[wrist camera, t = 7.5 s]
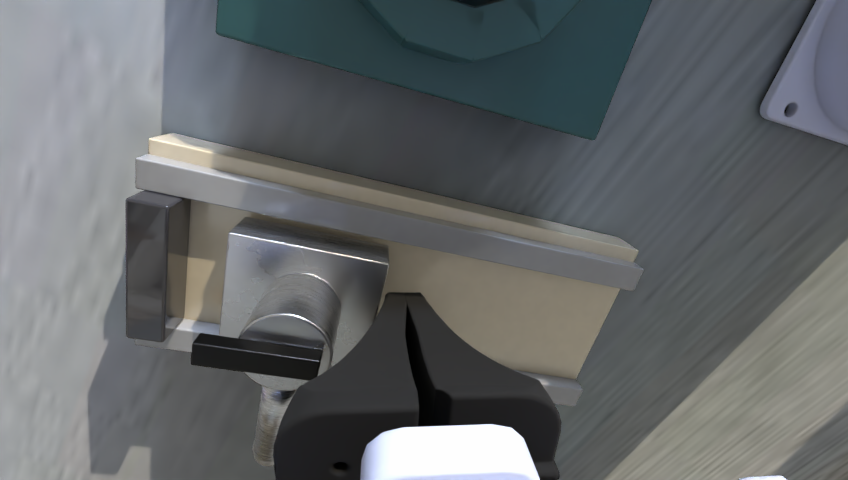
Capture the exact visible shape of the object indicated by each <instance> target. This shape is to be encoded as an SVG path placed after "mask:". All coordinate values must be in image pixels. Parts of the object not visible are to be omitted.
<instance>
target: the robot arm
mask: <svg viewBox="0 0 848 480" xmlns="http://www.w3.org/2000/svg"><path fill="white" fill-rule="evenodd" d="M787 105H788V108H787V111H786V112H785V114H784V111H785V108H786V107H787ZM760 114H761V116H762V117H763V118H764V119H767V120H770V121H773V122H776V123H779V124H782V125H785V126H788V127H792V128H795V129H798V130H801V131H804V132H807V133H810V134H813V135H816V136H819V137H823V138H826V139H829V140H832V141H835V142H838V143H841V144H844V145H847V146H848V0H816V2H815V4H814V6H813V8H812V9H811V11H810V13H809V15H808V17H807V19H806V21H805V23H804V24H803V26H802V28H801V30H800V32H799V34H798V36H797V38H796V39H795V41H794V43H793V45H792V47H791V49H790V51H789V52H788V54H787V56H786V58H785V60H784V62H783V64H782V66H781V67H780V69H779V71H778V73H777V75H776V77H775V79H774V81H773V82H772V84H771V86H770V88H769V90H768V92H767V94H766V96H765V97H764V99H763V101H762V103H761V106H760ZM560 432H561V419H560V415H559V412H558V410H557V408H556V407H555V405H554V403H553V401H552V399H551V397H550V396H549V394H548V393H547V391H546V390H545V388H544V387H543V385H542V384H541V382H540V381H539V380H537V379H535V378H532V377H529V376H527V375H524V374H521V373H519V372H516V371H514V370H512V369H510V368H508V367H505V366H503V365H501V364H499V363H497V362H496V361H494V360H492V359H490V358H489V357H487V356H485V355H484V354H482V353H481V352H479V351H477V350H476V349H475V348H473V347H472V346H470V345H469V344H468V343H466V342H465V341H464V340H463V339H461V338H460V337H459V336H458V335H457V334H456V333H454V332H453V331H452V330H451V329H450V328H449V327H448V326H447V324H446V323H445V322H444V321H443V320H442V319H441V318H440V317H439V316H438V314H437V313H436V312H435V311H434V309H433V308H432V307H431V306H430V304H429V303H428V302H427V300H426V299H425V297H424V296H423V295H422V294H421V293H420V292H388V293H387V294H386V295H385V299H384V302H383V305H382V307H381V309H380V311H379V313H378V315H377V317H376V318H375V320H374V322H373V323H372V325H371V326H370V328H369V329H368V331H367V332H366V334H365V335H364V336H363V337H362V339H361V340H360V341H359V342H358V343H357V344H356V346H355V347H354V348H353V349H352V350H351V351H350V352H349V353H348V354H347V355H346V356H345V357H344V358H343V359H341V360H340V361H339V362H338V363H337V364H335V365H334V366H333V367H331V368H330V369H328V370H327V371H326V372H324V373H322V374H321V375H319V376H317V377H316V378H314V379H312V380H310V381H308V382H307V383H305V384H303V385H301V386H299V387H298V389H297V390H296V392H295V394H294V396H293V397H292V399H291V401H290V403H289V405H288V407H287V409H286V411H285V413H284V415H283V418H282V420H281V423H280V426H279V429H278V432H277V436H276V439H275V442H274V450H273V459H274V468H275V476H276V480H557V479H559V471H558V468H557V466H556V464H555V462H554V457H555V452H556V448H557V444H558V440H559V436H560ZM739 480H786V479H785V478H784V477H783V476H779V475H775V476H757V477H745V478H740V479H739Z"/></svg>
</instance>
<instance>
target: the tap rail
mask: <svg viewBox="0 0 848 480" xmlns="http://www.w3.org/2000/svg"><path fill="white" fill-rule="evenodd" d="M136 188H137V189H142V190H144V191H142V192H140V193H137V194H135V195H133V196H131V197H129V198H127V199H126V336H127V337H128V338H133V339H135V345H140V346H148V347H155V348H162V349H169V350H176V351H183V352H190V353H192V343H193V342H194V340H195V339H196V338H197V336H198V335H199V334H200V333H206V334H212V335H219V327H220V316H221V305H222V295H223V284H224V273H225V263H226V252H227V241H228V233H229V232H230V231H231V230H232V229H233V228H234V227H235V226H236V225H237V224H238V223H239V222H240V221H241V220H242V219H243V218H244V217H251V218H255V219H260V220H265V221H270V222H275V223H280V224H285V225H290V226H294V227H299V228H304V229H309V230H314V231H319V232H324V233H329V234H334V235H338V236H343V237H348V238H353V239H358V240H363V241H368V242H373V243H378V244H382V245H387V246H389V269H388V273H387V277H386V281H385V285H384V289H383V293H382V296H381V300H380V304H379V308H378V312H377V315H378V313H379V311H380V309H381V307H382V305H383V302H384V299H385V295H386V294H387V293H388V292H420V293H421V294H422V295H423V296H424V297H425V299H426V300H427V302H428V303H429V304H430V306H431V307H432V308H433V309H434V311H435V312H436V313H437V314H438V316H439V317H440V318H441V319H442V320H443V321H444V322H445V323H446V324H447V326H448V327H449V328H450V329H451V330H452V331H453V332H454V333H456V334H457V335H458V336H459V337H460V338H461V339H463V340H464V341H465V342H466V343H468V344H469V345H470V346H472V347H473V348H475V349H476V350H477V351H479V352H481V353H482V354H484V355H485V356H487V357H489V358H490V359H492V360H494V361H496V362H497V363H499V364H501V365H503V366H505V367H508V368H510V369H512V370H514V371H516V372H519V373H521V374H524V375H527V376H529V377H532V378H535V379H537V380H539V381H540V382H541V384H542V385H543V387H544V388H545V390H546V391H547V393H548V394H549V396H550V397H551V399H552V401H553V403H554V404H559V405H566V406H573V407H574V406H575V405H576V403H577V401H578V400H579V398H580V396H581V394H582V392H583V389H582V387H581V386H580V384H579V383H578V381H577V380H576V378H577V376H578V374H579V372H580V370H581V368H582V366H583V364H584V362H585V360H586V358H587V356H588V354H589V352H590V350H591V348H592V346H593V344H594V342H595V339H596V337H597V335H598V333H599V331H600V329H601V327H602V325H603V323H604V321H605V319H606V317H607V315H608V313H609V311H610V309H611V307H612V305H613V303H614V301H615V299H616V297H617V295H618V293H619V291H620V289H625V290H629V291H634V289H635V287H636V285H637V283H638V281H639V279H640V277H641V275H642V273H643V271H644V269H643V268H641V267H640V266H638V265H637V264H636V263H634V260H635V258H636V256H637V254H638V252H639V251H638V250H637V249H635V248H634V247H632V246H631V245H629V244H628V243H626V242H625V241H623V240H622V239H620V238H619V237H615V236H611V235H606V234H602V233H598V232H593V231H589V230H585V229H581V228H576V227H572V226H568V225H564V224H559V223H555V222H551V221H547V220H542V219H538V218H534V217H529V216H525V215H521V214H517V213H512V212H508V211H504V210H500V209H495V208H491V207H487V206H483V205H478V204H474V203H470V202H465V201H461V200H457V199H453V198H448V197H444V196H440V195H436V194H431V193H427V192H423V191H419V190H414V189H410V188H406V187H401V186H397V185H393V184H389V183H384V182H380V181H376V180H372V179H367V178H363V177H359V176H355V175H350V174H346V173H342V172H337V171H333V170H329V169H325V168H320V167H316V166H312V165H308V164H303V163H299V162H295V161H291V160H286V159H282V158H278V157H273V156H269V155H265V154H261V153H256V152H252V151H248V150H244V149H239V148H235V147H231V146H227V145H222V144H218V143H214V142H209V141H205V140H201V139H197V138H192V137H188V136H184V135H180V134H175V133H169V134H165V135H161V136H157V137H153V138H149V152H148V154H147V155H143V156H140V157H137V158H136ZM376 317H377V316H376ZM331 367H333V366H330V367H329V369H330V368H331Z"/></svg>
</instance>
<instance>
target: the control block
mask: <svg viewBox="0 0 848 480" xmlns="http://www.w3.org/2000/svg"><path fill="white" fill-rule="evenodd" d="M651 1H652V0H218V5H217V20H216V34H218V35H220V36H223V37H227V38H230V39H234V40H237V41H241V42H244V43H248V44H252V45H255V46H259V47H262V48H266V49H269V50H273V51H276V52H280V53H283V54H287V55H291V56H294V57H298V58H301V59H305V60H308V61H312V62H315V63H319V64H322V65H326V66H330V67H333V68H337V69H340V70H344V71H347V72H351V73H354V74H358V75H361V76H365V77H369V78H372V79H376V80H379V81H383V82H386V83H390V84H393V85H397V86H400V87H404V88H408V89H411V90H415V91H418V92H422V93H425V94H429V95H432V96H436V97H439V98H443V99H447V100H450V101H454V102H457V103H461V104H464V105H468V106H471V107H475V108H478V109H482V110H486V111H489V112H493V113H496V114H500V115H503V116H507V117H510V118H514V119H517V120H521V121H525V122H528V123H532V124H535V125H539V126H542V127H546V128H549V129H553V130H557V131H560V132H564V133H567V134H571V135H574V136H578V137H581V138H585V139H589V140H595V139H596V137H597V134H598V132H599V129H600V127H601V124H602V122H603V119H604V117H605V114H606V112H607V109H608V107H609V105H610V102H611V100H612V97H613V95H614V92H615V90H616V87H617V85H618V82H619V80H620V77H621V75H622V73H623V70H624V68H625V65H626V63H627V60H628V58H629V55H630V53H631V50H632V48H633V45H634V43H635V41H636V38H637V36H638V33H639V31H640V28H641V26H642V23H643V21H644V18H645V16H646V14H647V11H648V9H649V6H650V4H651Z"/></svg>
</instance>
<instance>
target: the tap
mask: <svg viewBox="0 0 848 480" xmlns="http://www.w3.org/2000/svg"><path fill="white" fill-rule="evenodd" d="M388 269H389V246H387V245H382V244H378V243H373V242H368V241H363V240H358V239H353V238H348V237H343V236H338V235H334V234H329V233H324V232H319V231H314V230H309V229H304V228H299V227H294V226H290V225H285V224H280V223H275V222H270V221H265V220H260V219H255V218H251V217H244V218H243V219H242V220H241V221H240V222H239V223H238V224H237V225H236V226H235V227H234V228H233V229H232V230H231V231H230V232H229V233H228V241H227V252H226V263H225V273H224V284H223V295H222V305H221V316H220V327H219V335H212V334H206V333H200V334H199V335H198V336H197V338H196V339H195V340H194V342H193V343H192V353H191V364H192V365H197V366H204V367H211V368H219V369H226V370H233V371H241V372H244V373H245V374H246V375H247V376H248V377H249V378H250V379H251V380H253V381H254V382H256V383H258V384H260V385H261V386H262V391H261V398H260V405H259V412H258V418H257V425H256V432H255V439H254V443H253V447H252V451H253V455H254V458H255V460H256V461H257V462H258V463H259V464H260V465H262V466H268V467H269V466H274V459H273V450H274V442H275V439H276V436H277V432H278V429H279V426H280V423H281V420H282V418H283V415H284V413H285V411H286V409H287V407H288V405H289V403H290V401H291V399H292V397H293V396H294V394H295V392H296V390H297V389H298V387H299V386H301V385H303V384H305V383H307V382H308V381H310V380H312V379H314V378H316V377H317V376H319V375H321V374H322V373H324V372H326V371H327V370H328V369H329V367H330V366H334V365H335V364H337V363H338V362H339V361H340V360H341V359H343V358H344V357H345V356H346V355H347V354H348V353H349V352H350V351H351V350H352V349H353V348H354V347H355V346H356V344H357V343H358V342H359V341H360V340H361V339H362V337H363V336H364V335H365V334H366V332H367V331H368V329H369V328H370V326H371V325H372V323H373V322H374V320H375V318H376V316H377V312H378V308H379V304H380V300H381V296H382V293H383V289H384V285H385V281H386V277H387V273H388Z"/></svg>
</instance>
